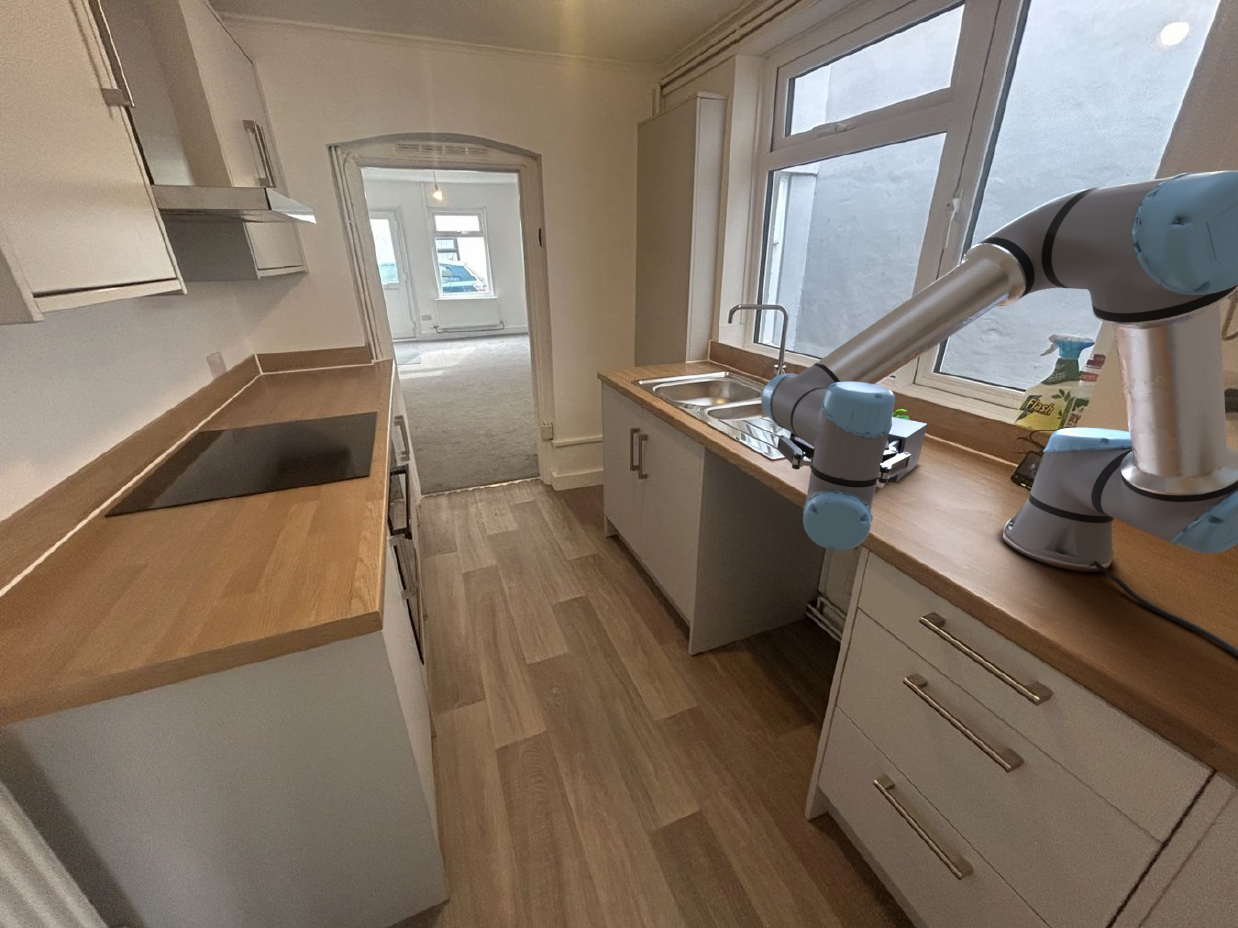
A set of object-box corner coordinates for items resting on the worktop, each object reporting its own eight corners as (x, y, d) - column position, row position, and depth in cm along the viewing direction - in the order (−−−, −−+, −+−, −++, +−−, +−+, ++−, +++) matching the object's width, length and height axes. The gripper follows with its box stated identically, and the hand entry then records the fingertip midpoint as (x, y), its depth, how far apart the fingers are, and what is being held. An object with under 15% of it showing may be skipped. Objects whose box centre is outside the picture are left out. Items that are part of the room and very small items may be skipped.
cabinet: (896, 482, 118) (906, 437, 114) (840, 467, 127) (848, 425, 123) (917, 465, 128) (927, 423, 123) (864, 452, 137) (872, 413, 133)
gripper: (748, 487, 76) (768, 446, 94) (931, 521, 66) (914, 468, 84) (754, 442, 73) (773, 409, 91) (946, 471, 63) (925, 428, 81)
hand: (841, 438), depth 88 cm, fingers open, 13 cm apart
